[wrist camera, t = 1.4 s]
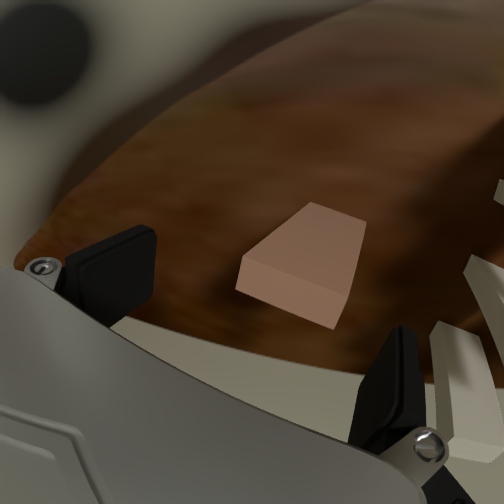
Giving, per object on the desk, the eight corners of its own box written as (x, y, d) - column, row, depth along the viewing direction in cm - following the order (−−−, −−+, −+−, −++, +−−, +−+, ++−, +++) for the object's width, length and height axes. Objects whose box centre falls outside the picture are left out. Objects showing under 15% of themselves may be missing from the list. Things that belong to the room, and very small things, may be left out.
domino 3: (478, 336, 20) (507, 448, 10) (469, 350, 21) (490, 463, 11) (438, 320, 22) (454, 436, 11) (429, 335, 22) (436, 453, 12)
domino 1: (366, 222, 22) (348, 297, 11) (359, 241, 22) (333, 329, 12) (310, 201, 23) (242, 255, 13) (304, 221, 24) (235, 289, 13)
